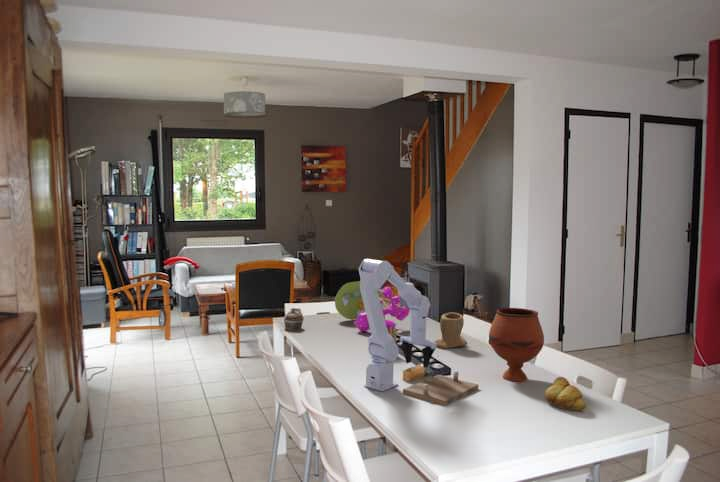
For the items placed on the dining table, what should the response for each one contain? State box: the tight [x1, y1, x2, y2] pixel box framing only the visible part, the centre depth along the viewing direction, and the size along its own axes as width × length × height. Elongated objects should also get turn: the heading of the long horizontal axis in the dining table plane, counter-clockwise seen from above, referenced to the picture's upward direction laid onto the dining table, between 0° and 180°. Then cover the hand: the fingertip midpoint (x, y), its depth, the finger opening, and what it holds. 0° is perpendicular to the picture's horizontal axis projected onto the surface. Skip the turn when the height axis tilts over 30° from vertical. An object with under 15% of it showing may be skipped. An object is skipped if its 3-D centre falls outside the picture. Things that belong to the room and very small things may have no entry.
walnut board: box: [402, 370, 479, 407], centre depth 188 cm, size 22×16×4 cm
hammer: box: [402, 362, 431, 383], centre depth 203 cm, size 13×4×4 cm, turn 140°
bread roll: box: [544, 376, 587, 412], centre depth 176 cm, size 13×10×8 cm
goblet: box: [488, 307, 545, 383], centre depth 203 cm, size 19×19×25 cm
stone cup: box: [433, 312, 468, 349], centre depth 248 cm, size 15×12×15 cm
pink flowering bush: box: [334, 280, 411, 333], centre depth 284 cm, size 30×28×35 cm
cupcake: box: [283, 307, 305, 332], centre depth 275 cm, size 10×10×10 cm
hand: (417, 364), depth 203 cm, fingers open, 7 cm apart
